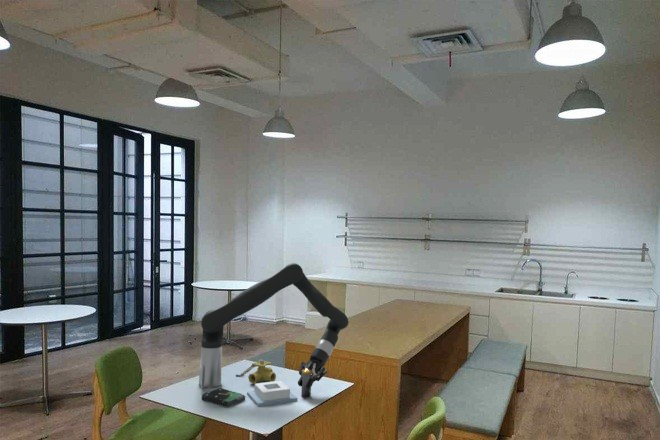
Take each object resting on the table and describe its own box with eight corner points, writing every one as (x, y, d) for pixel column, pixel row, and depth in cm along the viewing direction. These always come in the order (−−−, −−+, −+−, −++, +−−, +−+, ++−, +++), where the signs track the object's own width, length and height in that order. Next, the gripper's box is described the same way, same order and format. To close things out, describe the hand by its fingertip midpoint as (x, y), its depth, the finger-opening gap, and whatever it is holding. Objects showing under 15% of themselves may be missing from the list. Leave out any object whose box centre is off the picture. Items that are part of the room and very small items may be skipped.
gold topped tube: (303, 398, 194) (304, 372, 194) (299, 395, 197) (300, 369, 198) (312, 397, 196) (312, 371, 196) (308, 394, 199) (309, 368, 200)
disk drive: (201, 401, 189) (228, 408, 182) (201, 394, 189) (228, 401, 182) (219, 394, 198) (245, 401, 191) (219, 387, 198) (245, 394, 191)
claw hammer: (247, 380, 219) (248, 377, 219) (235, 377, 221) (235, 375, 221) (264, 367, 240) (264, 365, 240) (252, 364, 241) (252, 362, 241)
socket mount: (257, 406, 183) (258, 394, 184) (246, 394, 197) (247, 383, 197) (297, 400, 191) (297, 389, 191) (284, 389, 204) (284, 378, 205)
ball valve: (263, 376, 222) (263, 355, 222) (280, 380, 217) (281, 359, 217) (245, 383, 211) (246, 361, 212) (263, 387, 206) (264, 365, 206)
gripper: (306, 344, 207) (286, 378, 198) (331, 350, 199) (312, 385, 189) (313, 354, 211) (294, 387, 201) (338, 360, 203) (320, 395, 193)
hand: (303, 386), depth 195 cm, fingers closed on gold topped tube, 4 cm apart
